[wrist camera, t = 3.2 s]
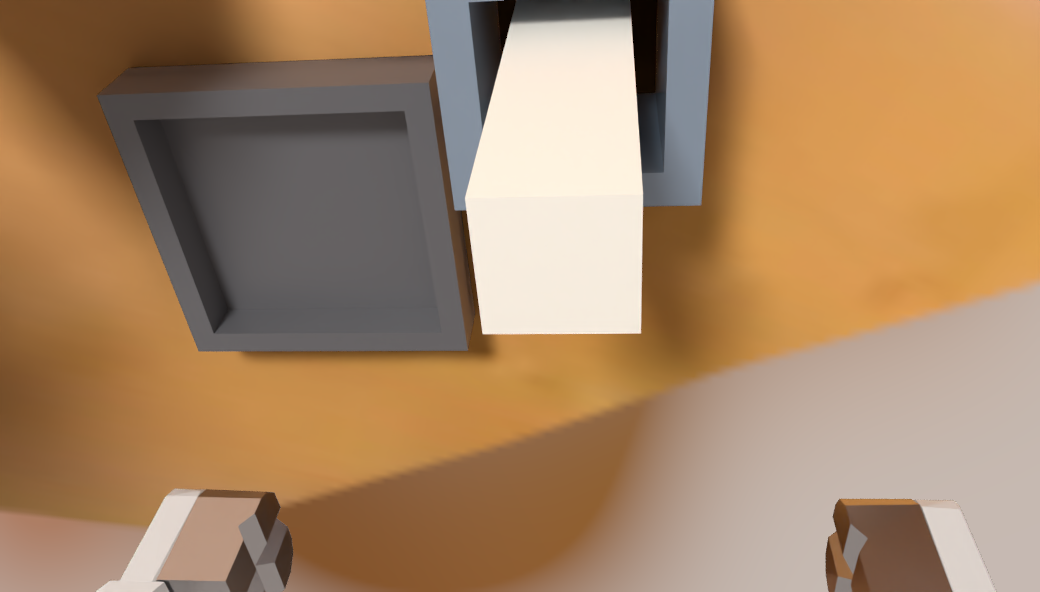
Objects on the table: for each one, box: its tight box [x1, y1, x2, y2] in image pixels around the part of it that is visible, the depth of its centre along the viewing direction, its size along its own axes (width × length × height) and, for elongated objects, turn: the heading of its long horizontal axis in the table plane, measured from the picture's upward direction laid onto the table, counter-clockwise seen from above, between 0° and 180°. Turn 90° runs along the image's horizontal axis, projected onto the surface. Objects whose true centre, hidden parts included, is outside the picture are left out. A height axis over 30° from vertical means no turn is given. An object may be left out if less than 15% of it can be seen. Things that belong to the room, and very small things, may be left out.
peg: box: [465, 0, 643, 334], centre depth 24 cm, size 4×4×15 cm
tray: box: [97, 55, 475, 351], centre depth 34 cm, size 12×12×2 cm
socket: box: [425, 0, 714, 210], centre depth 27 cm, size 8×8×6 cm
